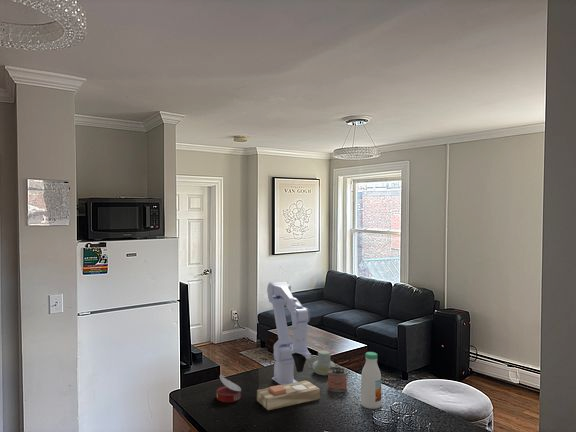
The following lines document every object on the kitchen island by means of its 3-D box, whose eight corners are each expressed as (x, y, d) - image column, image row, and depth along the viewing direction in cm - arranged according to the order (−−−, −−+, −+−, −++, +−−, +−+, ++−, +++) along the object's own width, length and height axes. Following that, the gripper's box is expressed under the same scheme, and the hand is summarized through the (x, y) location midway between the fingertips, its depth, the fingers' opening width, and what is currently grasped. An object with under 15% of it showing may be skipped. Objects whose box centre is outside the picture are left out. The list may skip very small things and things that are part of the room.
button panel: (256, 400, 166) (256, 390, 166) (306, 389, 178) (306, 380, 178) (267, 410, 158) (268, 399, 158) (319, 398, 169) (319, 388, 169)
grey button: (290, 393, 171) (290, 386, 171) (301, 391, 173) (301, 384, 174) (297, 398, 167) (297, 390, 167) (307, 396, 169) (307, 388, 169)
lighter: (346, 389, 179) (347, 365, 179) (347, 392, 176) (347, 368, 176) (327, 388, 180) (327, 364, 180) (327, 391, 177) (327, 367, 177)
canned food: (224, 404, 174) (229, 378, 178) (244, 406, 169) (249, 380, 174) (207, 399, 165) (213, 373, 170) (228, 402, 160) (233, 374, 165)
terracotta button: (268, 394, 166) (268, 387, 166) (279, 392, 169) (280, 384, 169) (274, 399, 162) (274, 391, 162) (285, 397, 164) (286, 389, 164)
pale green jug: (336, 371, 200) (336, 350, 200) (334, 377, 192) (334, 355, 192) (313, 369, 203) (314, 348, 203) (310, 375, 195) (311, 353, 195)
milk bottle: (369, 411, 158) (369, 357, 159) (356, 403, 165) (357, 351, 166) (385, 407, 162) (385, 354, 162) (372, 399, 169) (372, 349, 169)
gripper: (283, 334, 178) (282, 367, 178) (300, 344, 165) (299, 378, 165) (298, 333, 181) (297, 364, 181) (315, 341, 168) (315, 376, 168)
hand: (299, 371), depth 173 cm, fingers closed
